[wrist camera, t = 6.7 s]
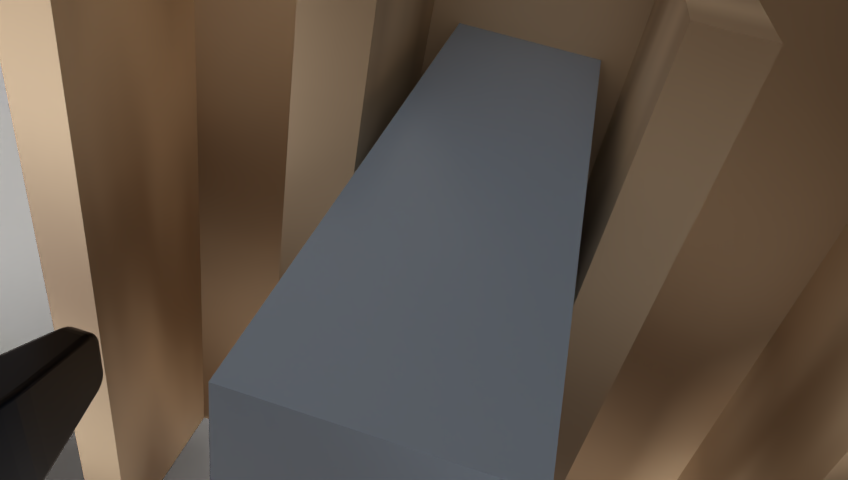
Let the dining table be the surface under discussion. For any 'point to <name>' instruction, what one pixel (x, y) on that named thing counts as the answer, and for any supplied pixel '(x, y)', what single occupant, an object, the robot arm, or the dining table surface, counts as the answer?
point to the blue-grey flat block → (428, 289)
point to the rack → (354, 138)
